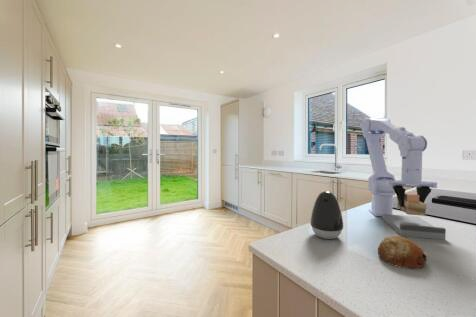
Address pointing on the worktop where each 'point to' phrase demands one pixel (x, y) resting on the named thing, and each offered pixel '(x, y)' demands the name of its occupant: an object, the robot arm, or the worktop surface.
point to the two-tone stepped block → (413, 208)
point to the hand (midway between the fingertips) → (410, 206)
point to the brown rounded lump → (401, 252)
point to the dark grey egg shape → (326, 216)
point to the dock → (414, 227)
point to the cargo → (411, 197)
